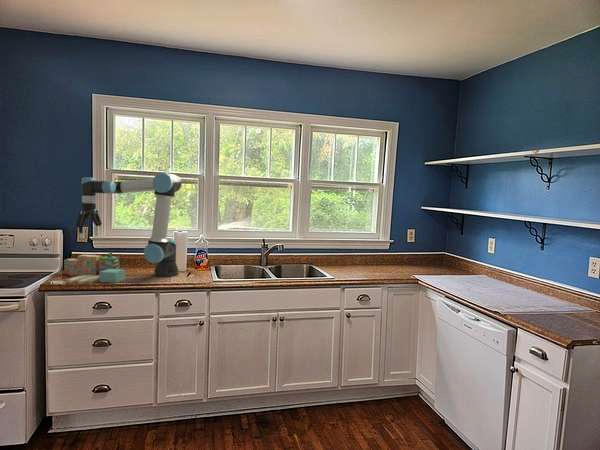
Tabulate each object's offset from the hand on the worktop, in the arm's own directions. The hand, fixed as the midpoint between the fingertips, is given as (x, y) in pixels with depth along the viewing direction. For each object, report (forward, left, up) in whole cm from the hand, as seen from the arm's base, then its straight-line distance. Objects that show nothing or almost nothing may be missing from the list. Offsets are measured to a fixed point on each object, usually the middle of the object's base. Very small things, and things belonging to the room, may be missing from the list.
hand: (89, 237), depth 246 cm
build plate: (-6, +12, -24) cm, 28 cm away
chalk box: (-10, -4, -24) cm, 27 cm away
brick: (-20, +8, -24) cm, 33 cm away
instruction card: (+5, +22, -24) cm, 33 cm away
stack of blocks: (+7, -3, -24) cm, 25 cm away
